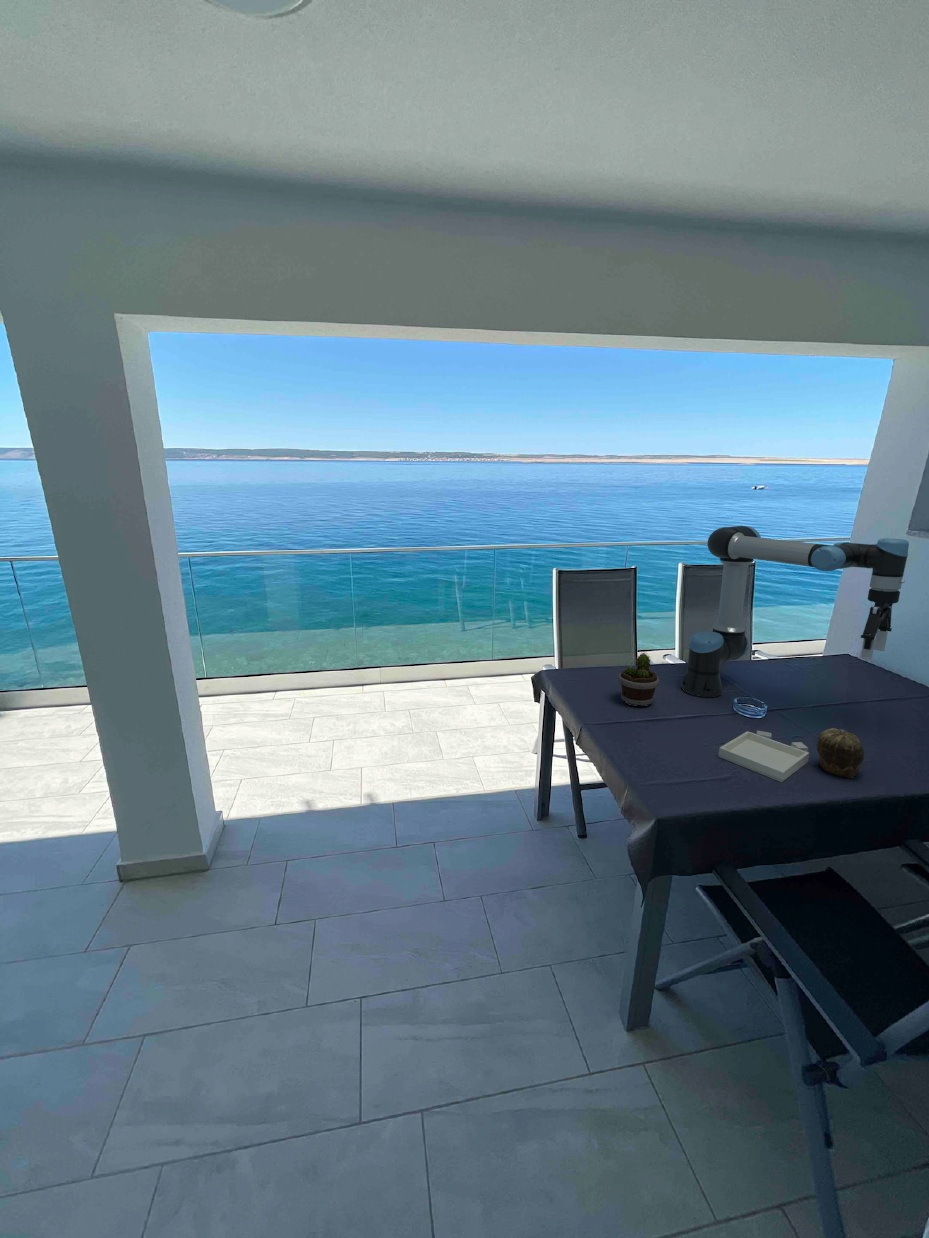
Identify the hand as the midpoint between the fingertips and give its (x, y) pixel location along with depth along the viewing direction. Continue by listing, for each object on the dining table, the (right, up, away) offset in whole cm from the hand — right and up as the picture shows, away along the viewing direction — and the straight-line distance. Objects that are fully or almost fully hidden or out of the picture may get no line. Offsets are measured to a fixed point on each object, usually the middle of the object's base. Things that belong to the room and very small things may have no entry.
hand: (872, 654), depth 161 cm
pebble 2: (-28, -29, -6) cm, 41 cm away
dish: (-42, -31, -11) cm, 53 cm away
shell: (-24, -32, -17) cm, 44 cm away
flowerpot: (-65, -21, +31) cm, 75 cm away
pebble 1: (-34, -28, +1) cm, 44 cm away
